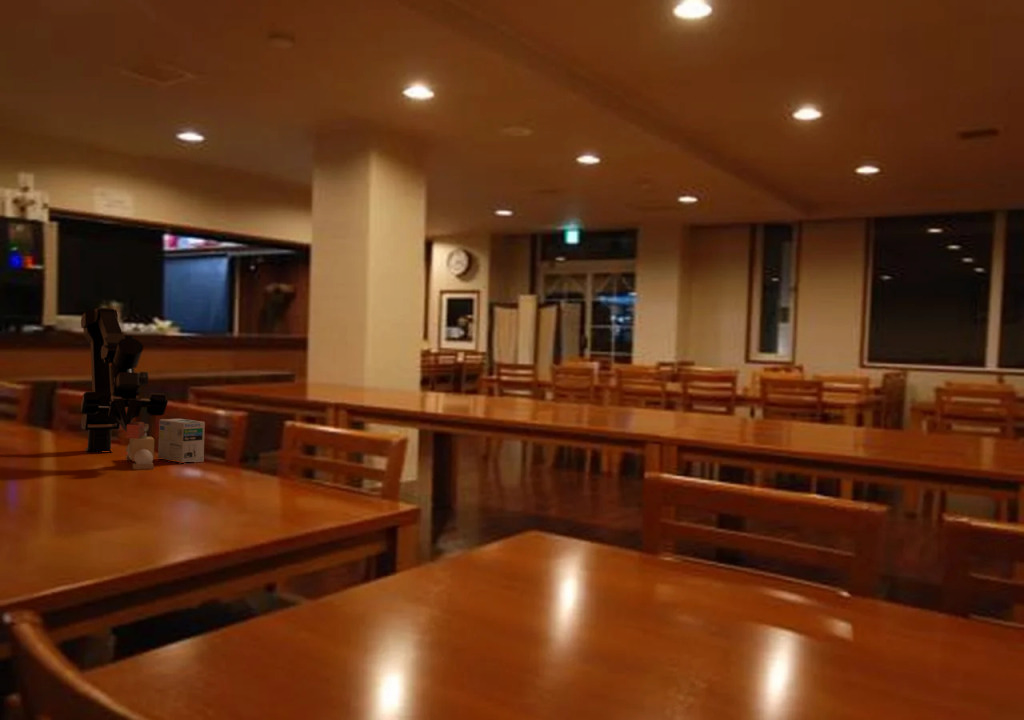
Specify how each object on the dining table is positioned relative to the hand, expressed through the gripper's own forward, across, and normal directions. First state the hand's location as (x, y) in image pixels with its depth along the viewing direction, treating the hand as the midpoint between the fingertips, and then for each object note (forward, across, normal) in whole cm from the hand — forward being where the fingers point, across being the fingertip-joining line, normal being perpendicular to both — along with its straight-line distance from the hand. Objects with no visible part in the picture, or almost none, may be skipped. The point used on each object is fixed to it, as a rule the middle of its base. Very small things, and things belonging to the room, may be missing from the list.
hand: (127, 430), depth 195 cm
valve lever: (0, +3, +2) cm, 3 cm away
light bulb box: (-2, +16, +16) cm, 22 cm away
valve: (0, +5, +13) cm, 14 cm away
